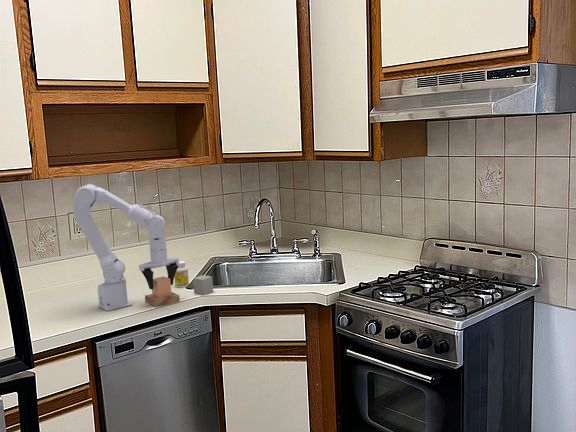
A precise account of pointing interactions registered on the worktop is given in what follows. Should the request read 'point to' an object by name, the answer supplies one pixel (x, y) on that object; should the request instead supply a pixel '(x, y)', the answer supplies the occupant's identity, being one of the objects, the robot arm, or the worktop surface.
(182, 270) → the supplement bottle
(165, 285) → the terracotta block
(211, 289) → the slate block
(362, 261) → the worktop surface
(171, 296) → the walnut slab
